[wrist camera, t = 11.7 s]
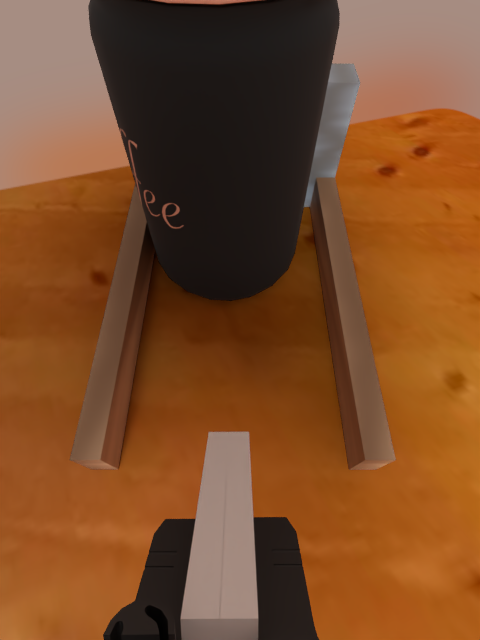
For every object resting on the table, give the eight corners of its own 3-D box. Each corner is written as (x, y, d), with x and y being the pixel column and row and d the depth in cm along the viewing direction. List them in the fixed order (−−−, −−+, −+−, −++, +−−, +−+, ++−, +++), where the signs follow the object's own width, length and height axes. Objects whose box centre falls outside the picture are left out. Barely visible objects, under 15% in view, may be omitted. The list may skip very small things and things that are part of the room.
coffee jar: (161, 210, 31) (82, -113, 15) (282, 203, 31) (323, -117, 16) (157, 314, 25) (27, -29, 10) (304, 303, 26) (400, -41, 10)
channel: (91, 469, 20) (-21, 421, 11) (149, 188, 32) (116, 63, 24) (375, 469, 20) (478, 421, 11) (323, 188, 32) (353, 63, 24)
